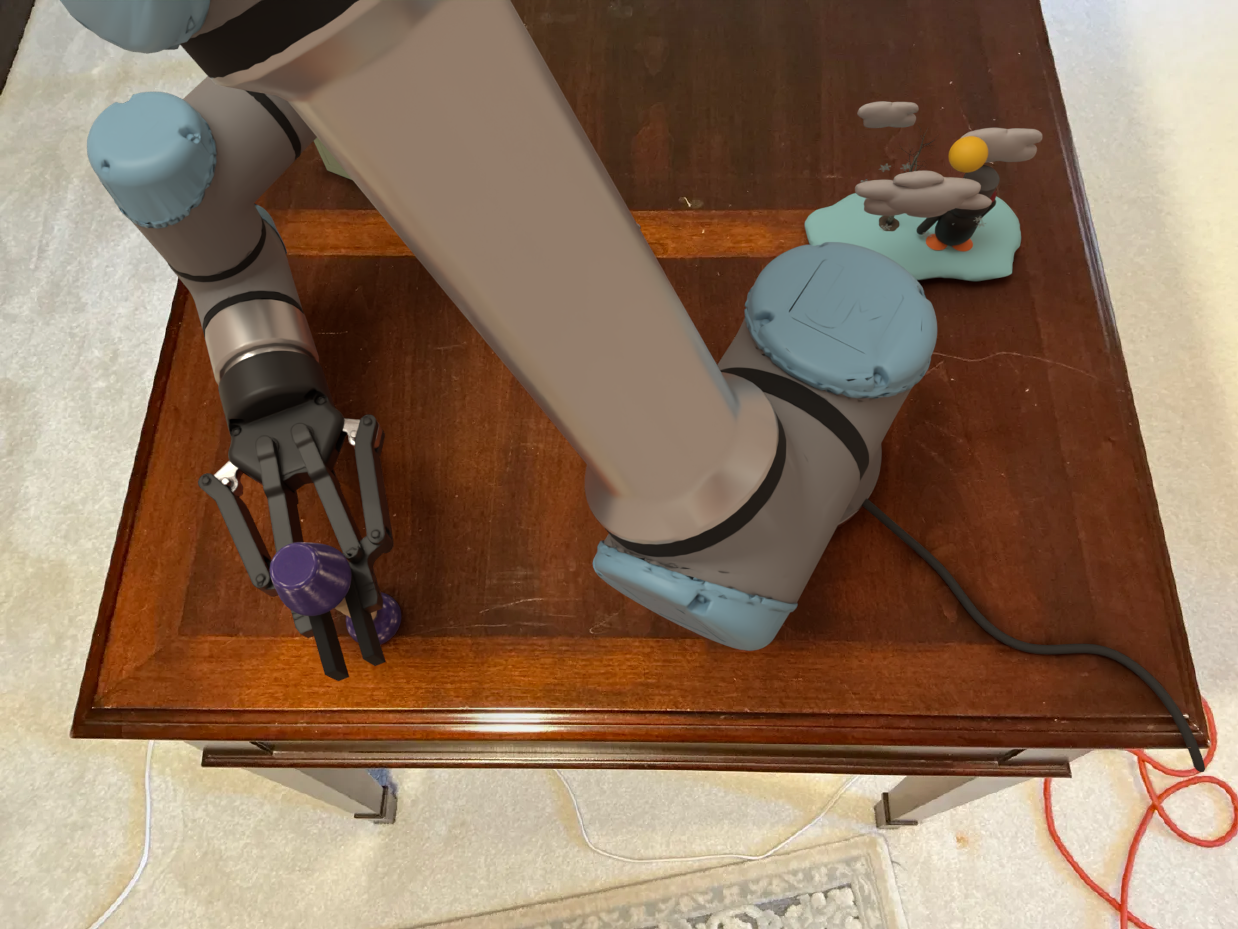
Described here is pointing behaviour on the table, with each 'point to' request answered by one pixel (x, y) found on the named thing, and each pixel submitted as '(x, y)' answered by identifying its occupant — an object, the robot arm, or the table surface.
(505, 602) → the table surface
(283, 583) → the toy lamp
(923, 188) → the penguin figurine
